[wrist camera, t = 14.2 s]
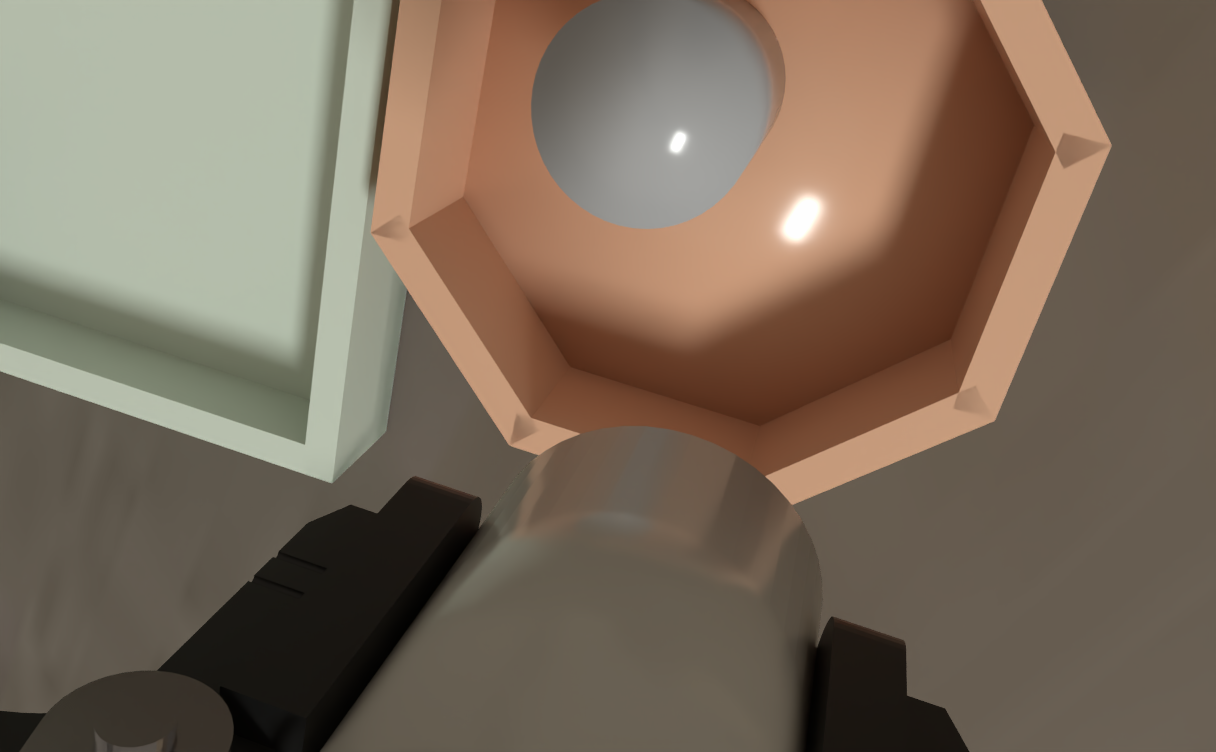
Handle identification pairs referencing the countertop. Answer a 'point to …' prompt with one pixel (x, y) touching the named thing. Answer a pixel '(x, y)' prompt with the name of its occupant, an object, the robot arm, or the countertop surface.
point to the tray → (202, 217)
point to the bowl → (751, 235)
